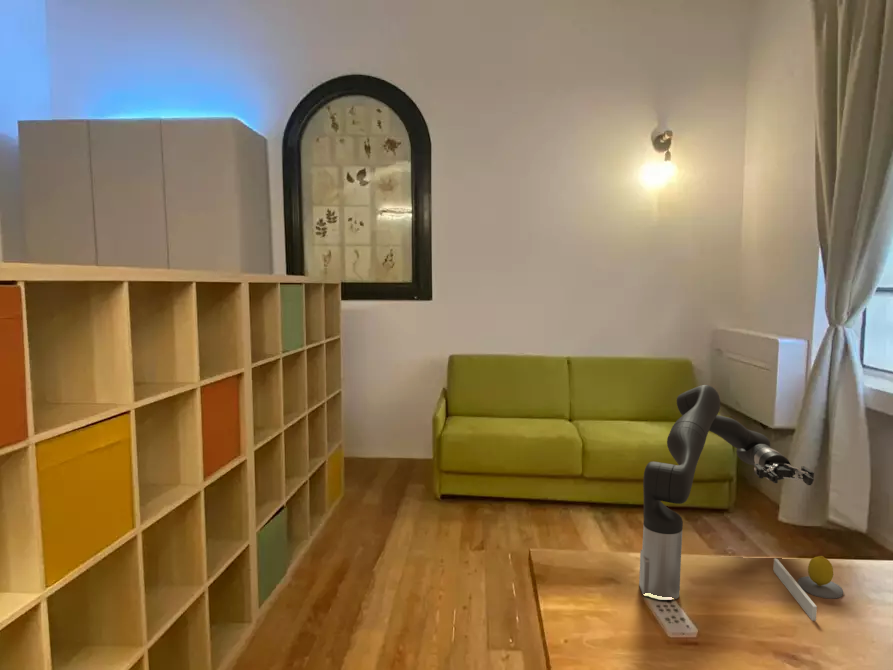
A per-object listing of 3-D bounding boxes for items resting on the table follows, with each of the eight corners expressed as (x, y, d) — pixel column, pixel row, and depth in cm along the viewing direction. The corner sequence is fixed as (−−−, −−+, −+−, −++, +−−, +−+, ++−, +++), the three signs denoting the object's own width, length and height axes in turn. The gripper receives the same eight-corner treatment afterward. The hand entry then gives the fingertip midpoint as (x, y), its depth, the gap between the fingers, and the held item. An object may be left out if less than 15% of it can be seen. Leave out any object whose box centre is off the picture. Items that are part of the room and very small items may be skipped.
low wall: (812, 620, 145) (813, 606, 145) (773, 570, 169) (774, 558, 168) (815, 620, 145) (816, 606, 144) (776, 571, 168) (777, 558, 168)
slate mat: (807, 597, 155) (807, 594, 155) (791, 577, 165) (791, 575, 165) (850, 600, 154) (850, 597, 154) (831, 579, 164) (831, 577, 164)
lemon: (835, 592, 156) (838, 562, 155) (811, 590, 157) (813, 560, 156) (826, 581, 162) (829, 552, 161) (803, 579, 163) (805, 550, 162)
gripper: (746, 449, 185) (766, 465, 169) (798, 452, 183) (822, 468, 167) (745, 474, 186) (764, 492, 170) (796, 477, 184) (820, 496, 168)
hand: (793, 480), depth 168 cm, fingers open, 8 cm apart
